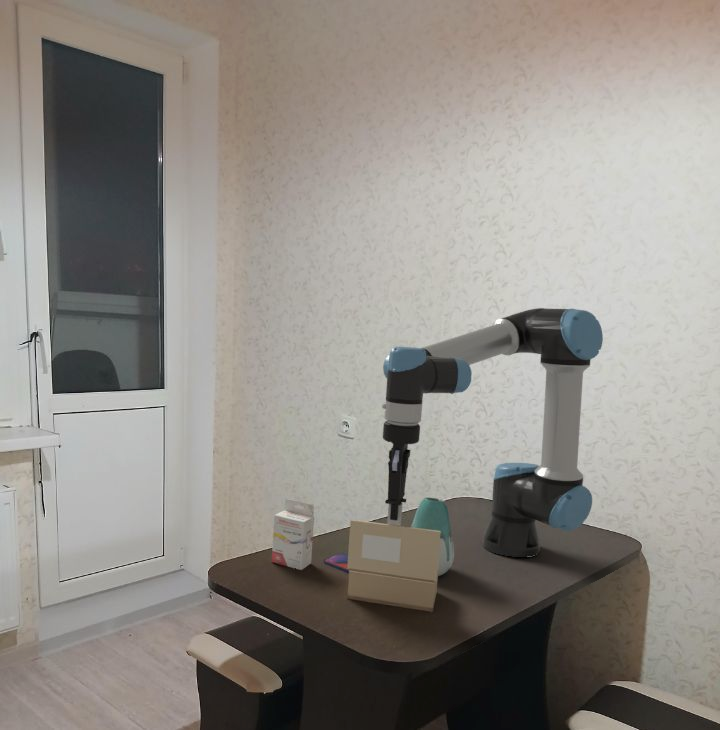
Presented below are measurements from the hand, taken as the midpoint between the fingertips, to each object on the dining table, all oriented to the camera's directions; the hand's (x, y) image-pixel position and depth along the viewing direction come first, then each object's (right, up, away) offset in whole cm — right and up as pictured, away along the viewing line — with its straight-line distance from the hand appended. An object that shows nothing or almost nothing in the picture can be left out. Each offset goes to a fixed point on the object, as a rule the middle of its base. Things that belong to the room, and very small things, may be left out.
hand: (393, 533), depth 132 cm
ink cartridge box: (-23, -12, +19) cm, 33 cm away
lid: (0, -3, 0) cm, 3 cm away
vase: (+9, -14, +20) cm, 26 cm away
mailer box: (0, -15, +5) cm, 16 cm away
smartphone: (-8, -14, +19) cm, 25 cm away
